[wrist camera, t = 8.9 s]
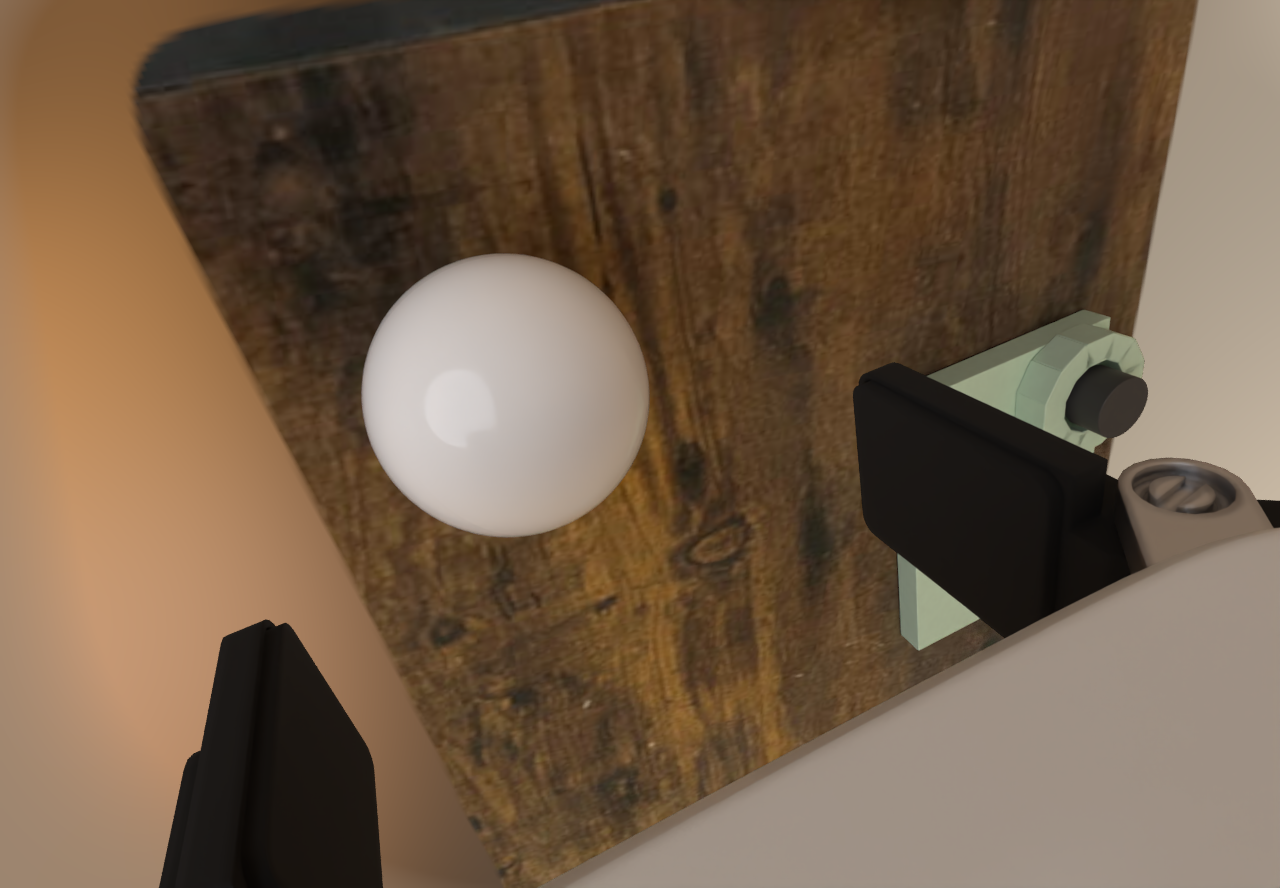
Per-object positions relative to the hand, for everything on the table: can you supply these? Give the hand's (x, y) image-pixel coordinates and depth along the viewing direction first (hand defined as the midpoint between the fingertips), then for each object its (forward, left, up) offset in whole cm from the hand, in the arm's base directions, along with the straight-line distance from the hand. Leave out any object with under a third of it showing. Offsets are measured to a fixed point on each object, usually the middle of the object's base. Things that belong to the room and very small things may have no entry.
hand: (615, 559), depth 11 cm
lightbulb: (0, 0, -15) cm, 15 cm away
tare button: (+12, +25, -12) cm, 30 cm away
